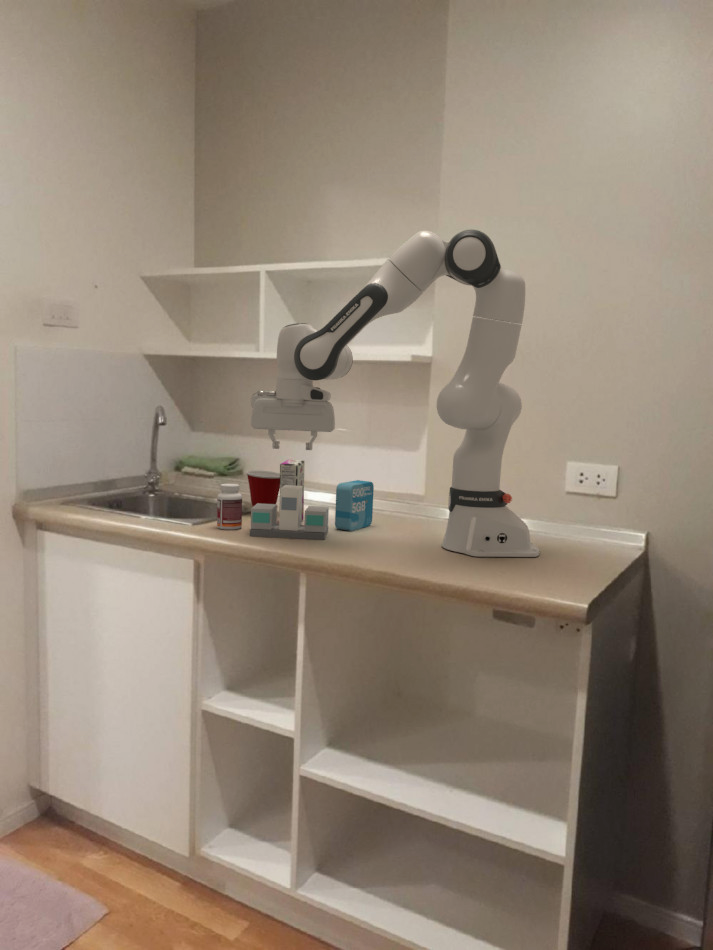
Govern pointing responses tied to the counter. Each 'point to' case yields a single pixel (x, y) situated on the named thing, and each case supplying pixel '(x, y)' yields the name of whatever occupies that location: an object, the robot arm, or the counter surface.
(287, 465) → the candy bar box
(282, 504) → the module block
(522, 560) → the counter surface
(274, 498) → the plastic cup
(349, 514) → the data package
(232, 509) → the pill bottle
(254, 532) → the teal-tagged twin block base
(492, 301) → the robot arm
